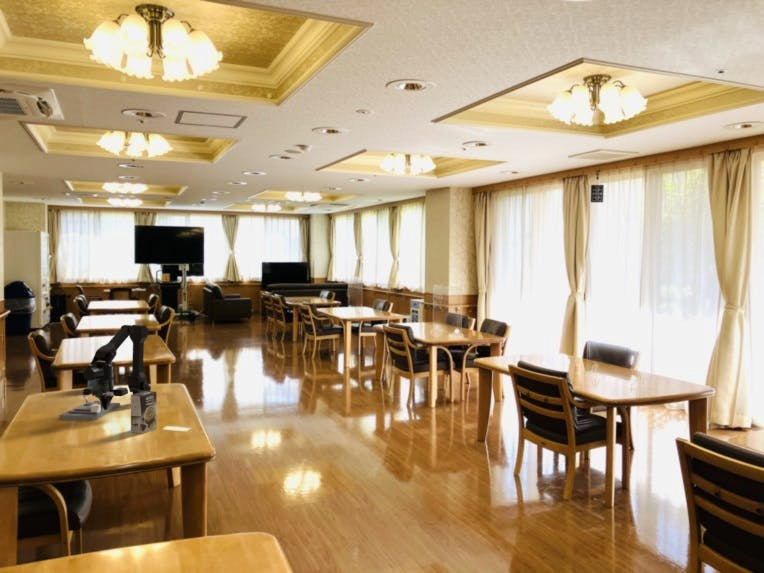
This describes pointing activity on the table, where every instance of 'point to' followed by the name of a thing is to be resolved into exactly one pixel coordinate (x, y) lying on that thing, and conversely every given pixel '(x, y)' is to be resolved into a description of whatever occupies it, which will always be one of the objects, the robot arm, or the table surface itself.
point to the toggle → (85, 398)
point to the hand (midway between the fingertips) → (105, 409)
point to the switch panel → (87, 412)
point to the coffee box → (143, 412)
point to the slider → (96, 408)
